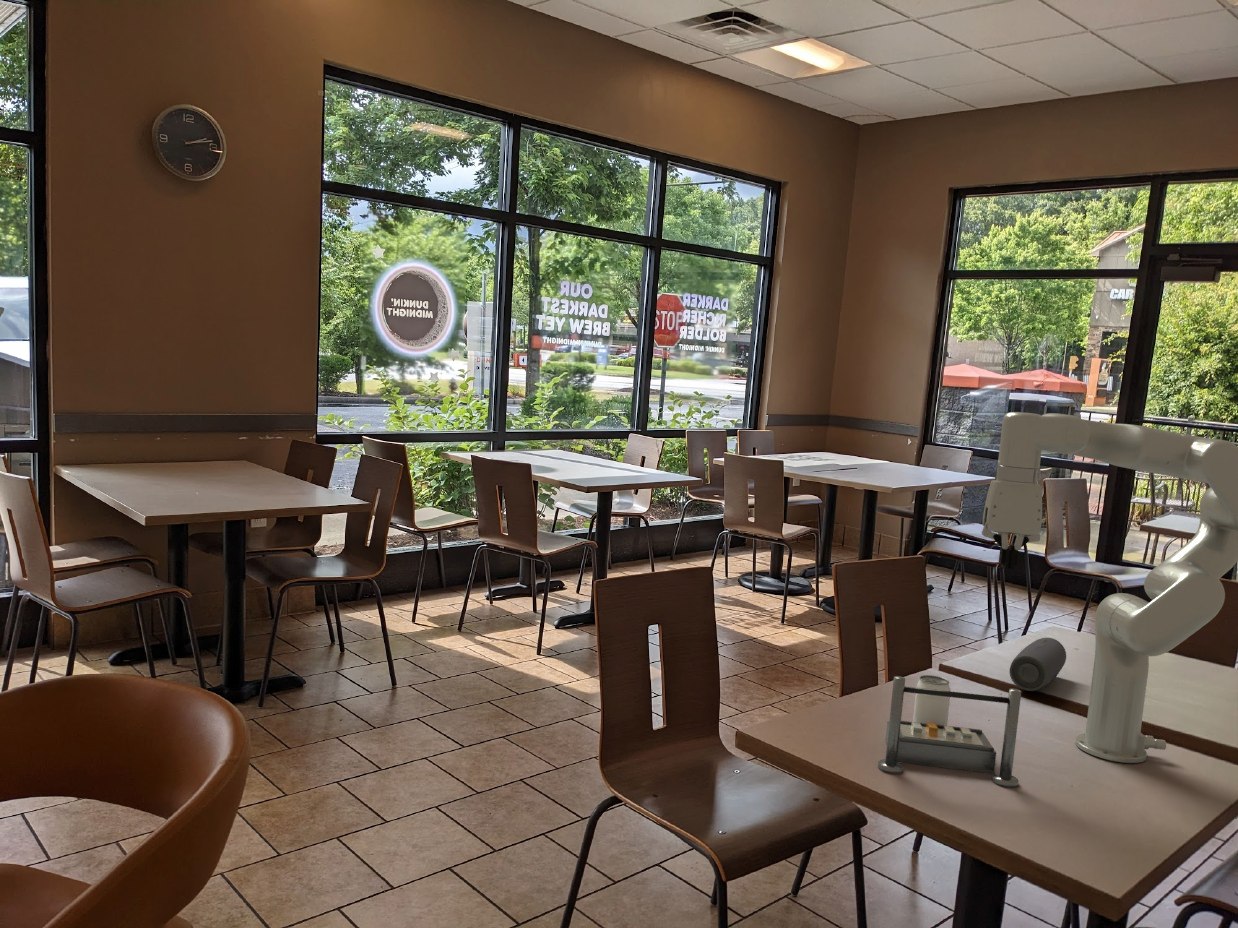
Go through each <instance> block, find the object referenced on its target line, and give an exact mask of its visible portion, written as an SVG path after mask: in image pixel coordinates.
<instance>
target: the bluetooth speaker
mask: <svg viewBox="0 0 1238 928" xmlns="http://www.w3.org/2000/svg"><path fill="white" fill-rule="evenodd" d="M1066 660H1067V651H1066V649H1065V646H1064V645H1063V644H1062V643H1061V642H1060V641H1059V640H1057V639H1056V638H1053V637H1041V638H1038V639H1036V640H1034V641H1033V642H1031V643H1030V644H1028V645H1027V646H1025V647H1024V648H1023V649H1022V650H1021V651H1020V652H1019V653H1018V654H1017V655H1016V656H1015V657H1014V658H1013V660H1012V661H1011V663H1010V667H1009V676H1010V679H1011V681H1012V682H1013V684H1014V685H1015V686H1016V687H1018V688H1019V689H1022V690H1024V691H1029V692H1035V691H1039V690H1041V689H1042V688H1044V687H1046V685H1048V684H1049V683H1051V682H1052V681H1053V680H1055V678H1056V677H1057V676H1058V675H1059V674H1060V672H1061V671H1062V669H1063V667H1064V666H1065V664H1066ZM1040 688H1041V689H1040ZM1038 689H1039V690H1038Z"/></svg>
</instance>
